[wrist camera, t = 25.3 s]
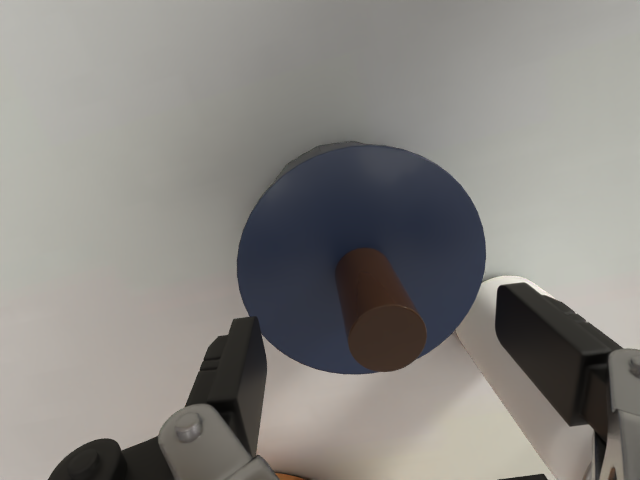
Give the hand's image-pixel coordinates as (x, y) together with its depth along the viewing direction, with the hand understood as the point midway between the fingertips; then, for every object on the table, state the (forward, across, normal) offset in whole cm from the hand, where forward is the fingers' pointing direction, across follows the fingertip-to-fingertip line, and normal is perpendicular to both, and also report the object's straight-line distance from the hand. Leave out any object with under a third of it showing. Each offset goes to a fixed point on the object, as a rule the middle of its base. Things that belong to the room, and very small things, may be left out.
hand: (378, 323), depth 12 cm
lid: (+5, 0, 0) cm, 5 cm away
